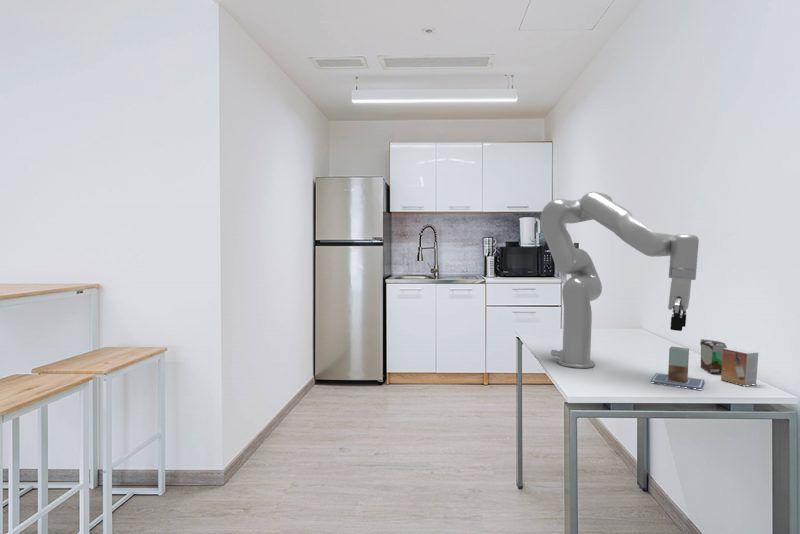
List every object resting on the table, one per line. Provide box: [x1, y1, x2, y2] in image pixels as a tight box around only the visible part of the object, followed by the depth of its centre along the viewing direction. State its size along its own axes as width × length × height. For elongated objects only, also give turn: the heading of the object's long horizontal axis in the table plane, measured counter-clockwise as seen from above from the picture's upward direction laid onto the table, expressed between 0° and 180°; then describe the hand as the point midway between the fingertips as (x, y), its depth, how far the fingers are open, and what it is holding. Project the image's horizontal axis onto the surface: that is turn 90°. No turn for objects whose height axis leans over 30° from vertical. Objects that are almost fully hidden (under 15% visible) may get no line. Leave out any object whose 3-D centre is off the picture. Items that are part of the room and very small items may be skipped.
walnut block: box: [667, 364, 689, 383], centre depth 167 cm, size 5×5×5 cm
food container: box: [700, 339, 728, 375], centre depth 182 cm, size 12×6×10 cm, turn 168°
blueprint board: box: [650, 372, 706, 390], centre depth 167 cm, size 14×12×1 cm
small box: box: [720, 347, 759, 385], centre depth 168 cm, size 8×6×10 cm
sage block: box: [668, 346, 690, 367], centre depth 166 cm, size 5×5×5 cm
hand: (677, 328), depth 166 cm, fingers open, 9 cm apart
